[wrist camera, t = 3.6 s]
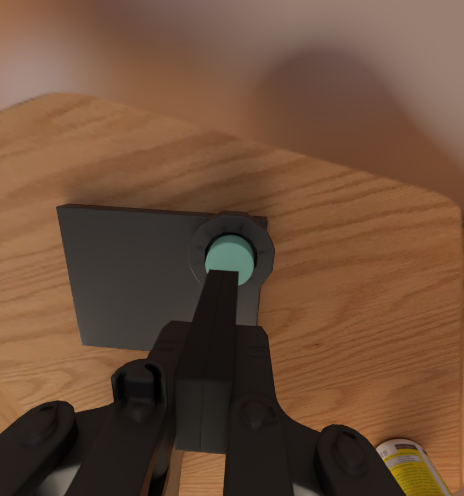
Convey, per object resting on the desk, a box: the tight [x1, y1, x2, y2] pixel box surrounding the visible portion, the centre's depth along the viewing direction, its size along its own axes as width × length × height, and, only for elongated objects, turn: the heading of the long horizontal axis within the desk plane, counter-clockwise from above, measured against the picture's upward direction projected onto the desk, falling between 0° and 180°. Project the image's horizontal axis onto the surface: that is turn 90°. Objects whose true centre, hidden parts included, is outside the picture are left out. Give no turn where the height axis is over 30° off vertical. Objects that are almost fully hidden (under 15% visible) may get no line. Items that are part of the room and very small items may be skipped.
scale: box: [56, 204, 275, 351], centre depth 20 cm, size 16×14×3 cm
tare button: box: [205, 235, 254, 286], centre depth 17 cm, size 3×3×2 cm
